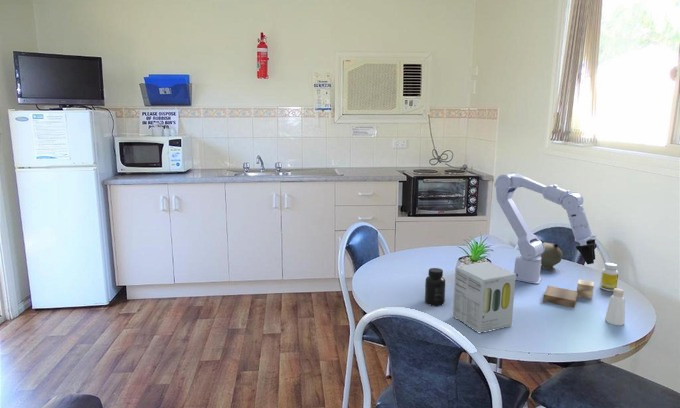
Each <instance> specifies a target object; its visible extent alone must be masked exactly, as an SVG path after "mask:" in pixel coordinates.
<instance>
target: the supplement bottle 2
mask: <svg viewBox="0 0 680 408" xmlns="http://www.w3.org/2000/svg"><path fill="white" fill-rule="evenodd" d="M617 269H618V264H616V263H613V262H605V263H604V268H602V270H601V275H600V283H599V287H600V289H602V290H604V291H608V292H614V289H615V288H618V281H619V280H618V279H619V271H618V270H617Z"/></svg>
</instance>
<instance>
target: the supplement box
mask: <svg viewBox="0 0 680 408" xmlns="http://www.w3.org/2000/svg"><path fill="white" fill-rule="evenodd" d="M515 279H516V274H515V273H514V271H510V270H508V269H506V268H503V267H501V266H499V265H496V264H494V263H492V262H489V261H483V262H477V263H470V264H464V265H458V266H455V273H454V284H453V285H454V287H453V304H452V317H453V316H454V317H456V318H457V319H459V320H460V321H462V322H464V323H465V324H467V325H468V326H470V327H471V328H473V329H474V330H476V331H478V332H484V331H489V330H493V329H498V330H500V329H499V328H502V329H504V327H506V328H510V327H512V324H513V313H514V300H515V291H516V290H515V289H516V288H515V287H516V280H515ZM454 317H453V318H454ZM456 318H455V319H456ZM457 319H456V320H457ZM459 320H458V321H459ZM460 321H459V322H460ZM462 322H461V323H462ZM465 324H464V325H465ZM468 326H467V327H468ZM509 326H510V327H509ZM471 328H470V329H471ZM474 330H473V331H474ZM493 331H494V330H493ZM489 332H490V331H489Z"/></svg>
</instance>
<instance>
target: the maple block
mask: <svg viewBox="0 0 680 408" xmlns="http://www.w3.org/2000/svg"><path fill="white" fill-rule="evenodd" d="M594 288H595V281H591V280H584V279H580V278H579V279H578V281H577V287H576V291H578V296H577V298H584V299H588V300H592V299H593V294H594Z"/></svg>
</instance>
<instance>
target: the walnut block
mask: <svg viewBox="0 0 680 408" xmlns="http://www.w3.org/2000/svg"><path fill="white" fill-rule="evenodd" d="M577 296H578V291H577V290H573V289H569V288H563V287H558V286H552V285H547V286H546V288H545V291H544V293H543V299H542V302H545V303H549V304H554V305H560V306H564V307H569V308H575V307H576V304H577V301H578V297H577Z"/></svg>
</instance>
